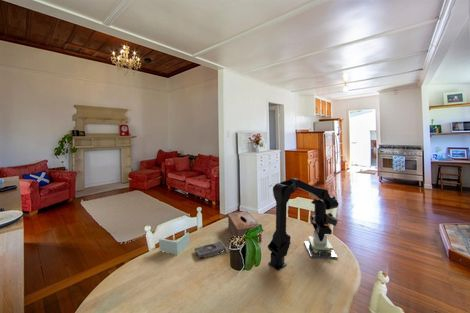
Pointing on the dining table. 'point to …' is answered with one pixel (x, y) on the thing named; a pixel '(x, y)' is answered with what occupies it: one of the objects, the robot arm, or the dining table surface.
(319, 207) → the robot arm
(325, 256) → the chassis plate
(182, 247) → the right angle wall
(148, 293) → the dining table surface
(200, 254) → the graphics card
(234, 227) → the tissue box cover
